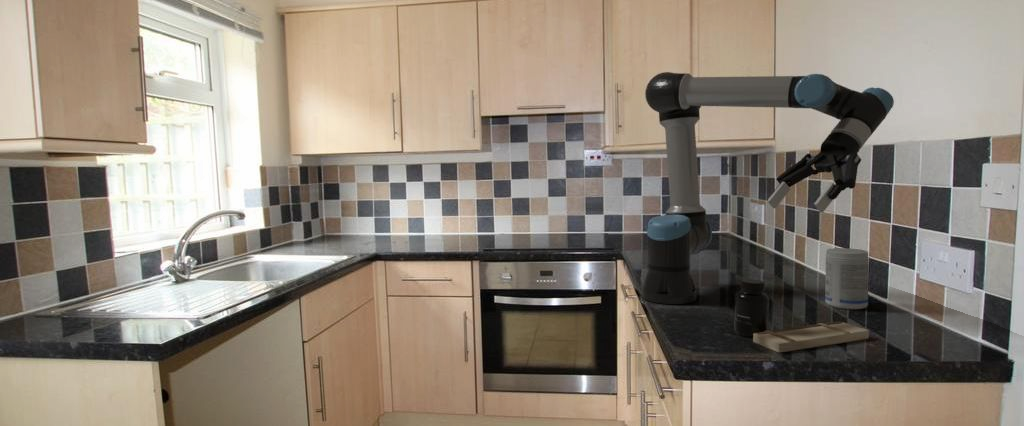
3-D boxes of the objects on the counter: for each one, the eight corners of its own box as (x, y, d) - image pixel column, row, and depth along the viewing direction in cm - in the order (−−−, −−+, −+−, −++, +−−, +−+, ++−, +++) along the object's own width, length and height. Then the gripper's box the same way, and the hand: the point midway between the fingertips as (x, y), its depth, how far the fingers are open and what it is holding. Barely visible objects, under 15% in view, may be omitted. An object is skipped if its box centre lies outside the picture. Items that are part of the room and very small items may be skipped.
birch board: (753, 341, 111) (753, 332, 111) (839, 329, 118) (839, 320, 118) (778, 352, 104) (779, 342, 104) (868, 338, 111) (869, 329, 111)
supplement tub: (874, 306, 136) (876, 250, 135) (857, 312, 131) (859, 254, 129) (834, 299, 144) (836, 246, 143) (817, 304, 139) (818, 250, 138)
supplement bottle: (735, 336, 114) (736, 283, 113) (733, 327, 121) (734, 277, 120) (769, 339, 112) (770, 285, 111) (766, 330, 118) (767, 278, 117)
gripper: (904, 150, 114) (850, 221, 111) (809, 154, 138) (762, 213, 135) (887, 126, 112) (832, 198, 109) (794, 134, 136) (746, 193, 133)
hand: (793, 206), depth 122 cm, fingers open, 13 cm apart
